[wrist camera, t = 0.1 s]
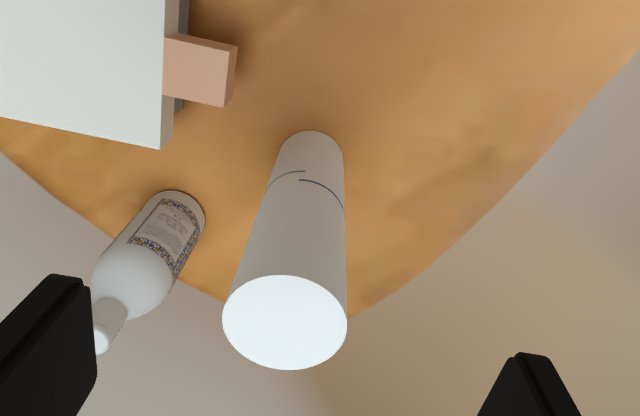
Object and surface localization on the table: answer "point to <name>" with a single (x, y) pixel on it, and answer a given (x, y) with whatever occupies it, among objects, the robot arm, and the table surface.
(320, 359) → the cylindrical container
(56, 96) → the lid
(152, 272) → the bath foam
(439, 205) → the table surface
